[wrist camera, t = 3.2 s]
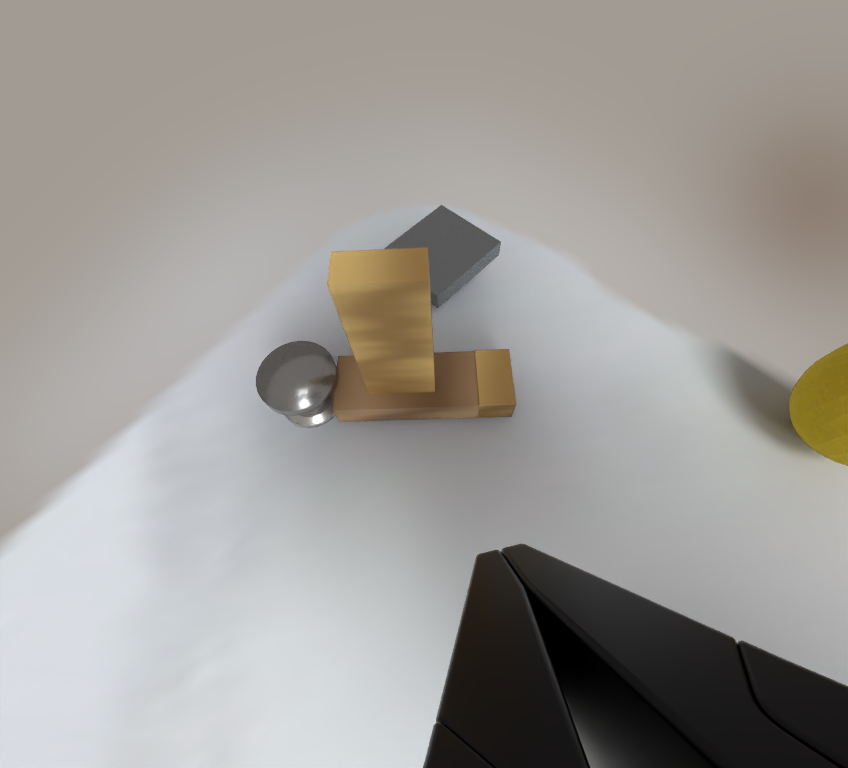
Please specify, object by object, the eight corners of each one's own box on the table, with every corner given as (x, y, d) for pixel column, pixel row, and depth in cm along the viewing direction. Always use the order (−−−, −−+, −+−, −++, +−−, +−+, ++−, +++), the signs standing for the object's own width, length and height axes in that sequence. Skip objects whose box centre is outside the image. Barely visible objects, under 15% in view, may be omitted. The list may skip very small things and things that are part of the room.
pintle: (333, 439, 22) (318, 418, 20) (266, 423, 23) (242, 401, 20) (356, 376, 24) (345, 348, 21) (293, 363, 25) (275, 335, 22)
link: (340, 422, 22) (270, 307, 14) (344, 370, 24) (284, 236, 15) (511, 417, 22) (554, 296, 13) (505, 364, 24) (540, 224, 15)
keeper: (438, 335, 25) (437, 296, 22) (386, 295, 27) (378, 252, 23) (494, 285, 27) (500, 242, 23) (441, 250, 28) (441, 205, 25)
